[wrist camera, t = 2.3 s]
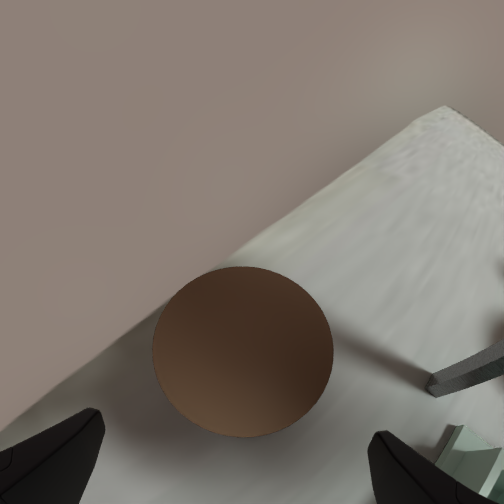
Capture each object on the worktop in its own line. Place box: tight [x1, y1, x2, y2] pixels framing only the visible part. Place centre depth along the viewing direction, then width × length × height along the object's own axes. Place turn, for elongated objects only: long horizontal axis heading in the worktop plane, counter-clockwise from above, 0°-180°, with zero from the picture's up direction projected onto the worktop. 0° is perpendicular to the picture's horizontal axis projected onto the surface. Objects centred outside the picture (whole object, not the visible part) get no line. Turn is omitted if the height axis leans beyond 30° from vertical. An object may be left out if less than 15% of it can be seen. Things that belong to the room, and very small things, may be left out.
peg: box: [152, 267, 334, 437], centre depth 12 cm, size 4×4×12 cm
